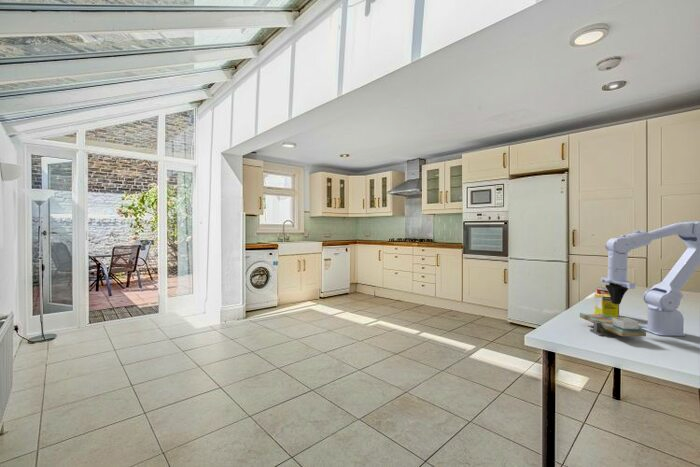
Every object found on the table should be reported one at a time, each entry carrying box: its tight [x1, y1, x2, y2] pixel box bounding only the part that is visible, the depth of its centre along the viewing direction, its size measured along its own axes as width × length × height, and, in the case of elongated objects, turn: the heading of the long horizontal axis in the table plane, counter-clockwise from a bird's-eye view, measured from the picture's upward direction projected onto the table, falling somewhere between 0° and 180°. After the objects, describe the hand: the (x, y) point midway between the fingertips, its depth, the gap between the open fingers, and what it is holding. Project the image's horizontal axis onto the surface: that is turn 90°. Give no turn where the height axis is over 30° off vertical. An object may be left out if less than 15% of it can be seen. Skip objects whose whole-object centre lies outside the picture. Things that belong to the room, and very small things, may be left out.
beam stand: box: [589, 322, 621, 337], centre depth 119 cm, size 5×12×4 cm, turn 86°
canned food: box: [596, 286, 620, 317], centre depth 144 cm, size 8×8×12 cm
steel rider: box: [613, 316, 640, 331], centre depth 113 cm, size 5×5×4 cm
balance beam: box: [579, 312, 647, 337], centre depth 120 cm, size 22×8×2 cm, turn 176°
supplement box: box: [594, 293, 618, 318], centre depth 135 cm, size 6×6×11 cm
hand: (616, 303), depth 123 cm, fingers closed
